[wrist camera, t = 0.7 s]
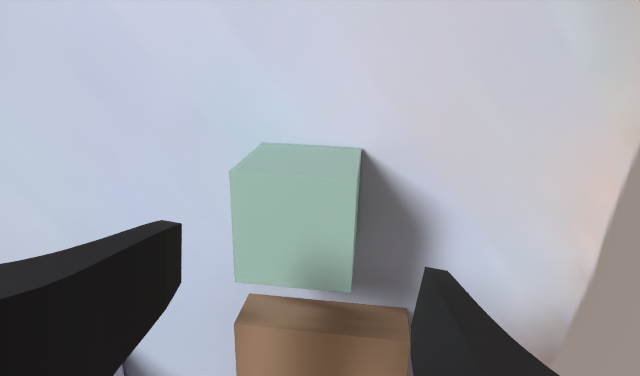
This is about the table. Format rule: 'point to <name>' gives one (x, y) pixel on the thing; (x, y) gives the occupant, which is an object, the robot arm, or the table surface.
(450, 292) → the robot arm
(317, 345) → the walnut block
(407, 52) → the table surface
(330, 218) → the green cube
